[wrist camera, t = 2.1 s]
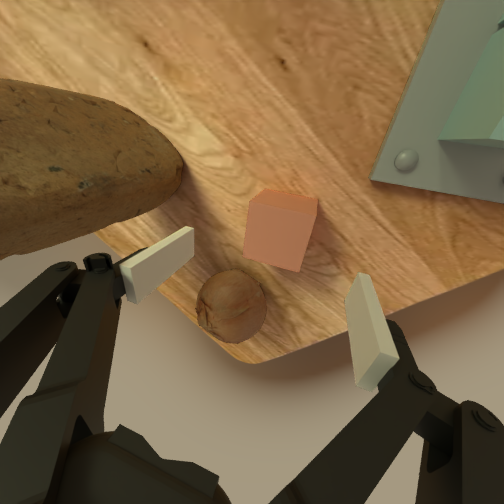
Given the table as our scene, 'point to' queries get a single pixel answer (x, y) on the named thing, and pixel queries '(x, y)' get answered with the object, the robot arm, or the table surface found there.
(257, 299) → the onion
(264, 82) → the table surface
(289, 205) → the brick block
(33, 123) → the rough sandstone chunk
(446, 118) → the build plate
